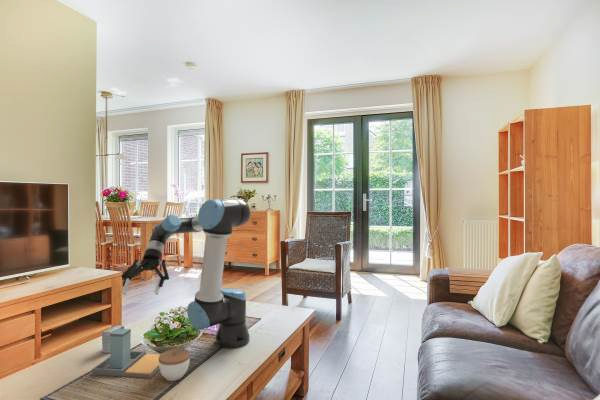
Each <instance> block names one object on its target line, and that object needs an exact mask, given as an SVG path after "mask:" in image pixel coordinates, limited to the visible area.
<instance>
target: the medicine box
mask: <svg viewBox="0 0 600 400" xmlns="http://www.w3.org/2000/svg"><path fill="white" fill-rule="evenodd" d="M117 329H125V326H124V325H118V324H117V325H114V326H112V327H110V328H108V329H106V330H104V331H102V332H101V336H102V337H101V343H102V344H101V352H102V353H107V354H110V333H112V332H114V331H115V330H117Z"/></svg>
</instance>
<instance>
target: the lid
mask: <svg viewBox="0 0 600 400" xmlns="http://www.w3.org/2000/svg"><path fill="white" fill-rule="evenodd" d="M160 355H161V353H159V354H157V353H146V355H144V356H143V357H142V358H141V359H140V360H138V361H137V362H136V363H135V364H134V365H132V366H131V367H130V368H129V369H128V370H126V371H125V373H123V374H122V376H121V377H129V378H130V377H131V378H145V379H146V378H147V379H148V378H151V379H152V377H154V375H156V373H158V372H159V371H160V369H159V356H160Z"/></svg>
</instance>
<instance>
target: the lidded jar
mask: <svg viewBox="0 0 600 400" xmlns="http://www.w3.org/2000/svg"><path fill="white" fill-rule="evenodd" d="M190 363H191V352H190V350H188V349H185V348H173V349H169V350H165V351H163V352H162V353H160V356H159V373H160V374H161V375H162V377H163V378H165V380H166V381H170V382H172V381H173V382H174V381H178V380H180V379H182V378H183V377H184V375H186V373H187V372H188V370H189V367H190Z"/></svg>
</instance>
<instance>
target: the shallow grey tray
mask: <svg viewBox="0 0 600 400" xmlns="http://www.w3.org/2000/svg"><path fill="white" fill-rule="evenodd" d="M146 354H147V353H146V351H145V350H144V351H141V350H130V358H134V359H133V360H132V361H131V360H130V363H129V364H128V365H126V366H125V367H124V368H123V369H120V368H105V367H106V366H108V365H110V356H108V357H107V358H106V359H103V361H101V362H100V363H98V364H97V365H96V366H94V367H93V368H91V375H93V376H108V377H109V376H111V377H112V376H113V377H123V376H122V374H123V373H125V371H126V370H128V369H129V368H130V367H131V366H132V365H134V364H135V363H136V362H137V361H138V360H140V359H141V358H142V357H143V356H144V355H146Z"/></svg>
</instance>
